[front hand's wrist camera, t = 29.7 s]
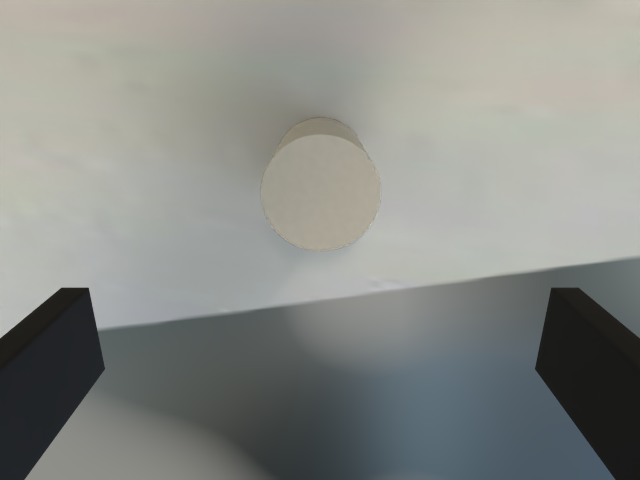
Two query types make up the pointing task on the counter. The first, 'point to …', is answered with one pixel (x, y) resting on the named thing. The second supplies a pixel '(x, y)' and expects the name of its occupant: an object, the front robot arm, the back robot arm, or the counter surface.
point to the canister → (320, 186)
